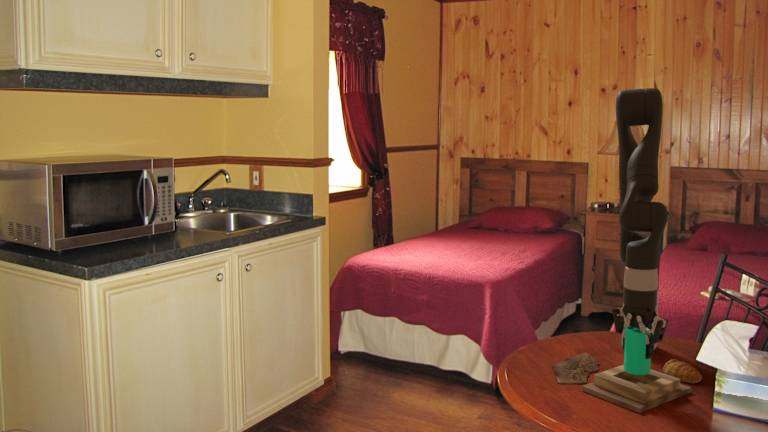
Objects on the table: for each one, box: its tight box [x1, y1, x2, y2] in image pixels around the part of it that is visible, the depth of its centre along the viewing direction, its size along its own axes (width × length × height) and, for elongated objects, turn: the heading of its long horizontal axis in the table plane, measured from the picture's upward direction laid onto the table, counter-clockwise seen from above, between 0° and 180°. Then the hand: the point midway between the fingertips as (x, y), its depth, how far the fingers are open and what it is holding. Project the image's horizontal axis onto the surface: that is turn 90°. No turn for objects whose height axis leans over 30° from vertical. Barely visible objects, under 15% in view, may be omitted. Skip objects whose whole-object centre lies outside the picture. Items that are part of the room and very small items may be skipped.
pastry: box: [662, 358, 703, 384], centre depth 175 cm, size 9×7×4 cm
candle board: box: [581, 364, 692, 414], centre depth 167 cm, size 20×16×4 cm
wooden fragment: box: [551, 352, 601, 386], centre depth 183 cm, size 26×11×1 cm, turn 147°
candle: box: [623, 327, 652, 375], centre depth 165 cm, size 6×6×12 cm
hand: (637, 354), depth 166 cm, fingers closed on candle, 4 cm apart
